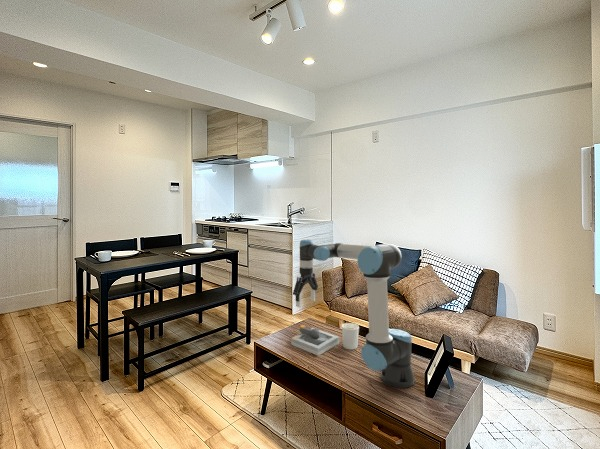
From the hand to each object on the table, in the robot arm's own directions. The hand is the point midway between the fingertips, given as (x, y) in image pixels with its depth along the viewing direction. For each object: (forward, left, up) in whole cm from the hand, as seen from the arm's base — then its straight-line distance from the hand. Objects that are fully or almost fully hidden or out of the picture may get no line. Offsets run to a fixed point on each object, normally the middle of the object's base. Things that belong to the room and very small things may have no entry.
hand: (305, 303), depth 182 cm
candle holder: (-19, -17, -26) cm, 36 cm away
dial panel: (-2, -6, -26) cm, 26 cm away
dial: (0, -6, -23) cm, 24 cm away
